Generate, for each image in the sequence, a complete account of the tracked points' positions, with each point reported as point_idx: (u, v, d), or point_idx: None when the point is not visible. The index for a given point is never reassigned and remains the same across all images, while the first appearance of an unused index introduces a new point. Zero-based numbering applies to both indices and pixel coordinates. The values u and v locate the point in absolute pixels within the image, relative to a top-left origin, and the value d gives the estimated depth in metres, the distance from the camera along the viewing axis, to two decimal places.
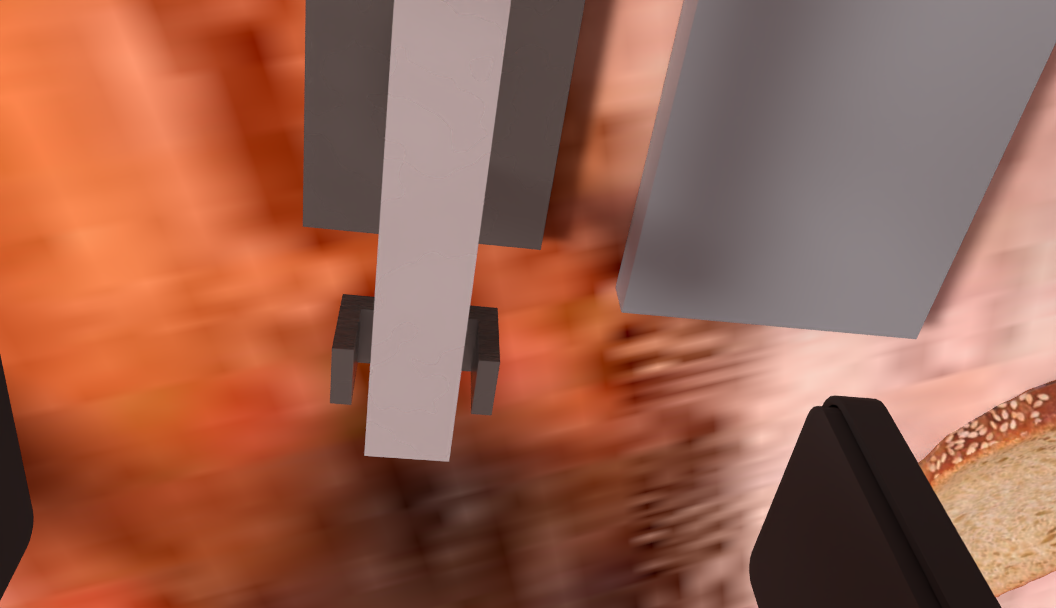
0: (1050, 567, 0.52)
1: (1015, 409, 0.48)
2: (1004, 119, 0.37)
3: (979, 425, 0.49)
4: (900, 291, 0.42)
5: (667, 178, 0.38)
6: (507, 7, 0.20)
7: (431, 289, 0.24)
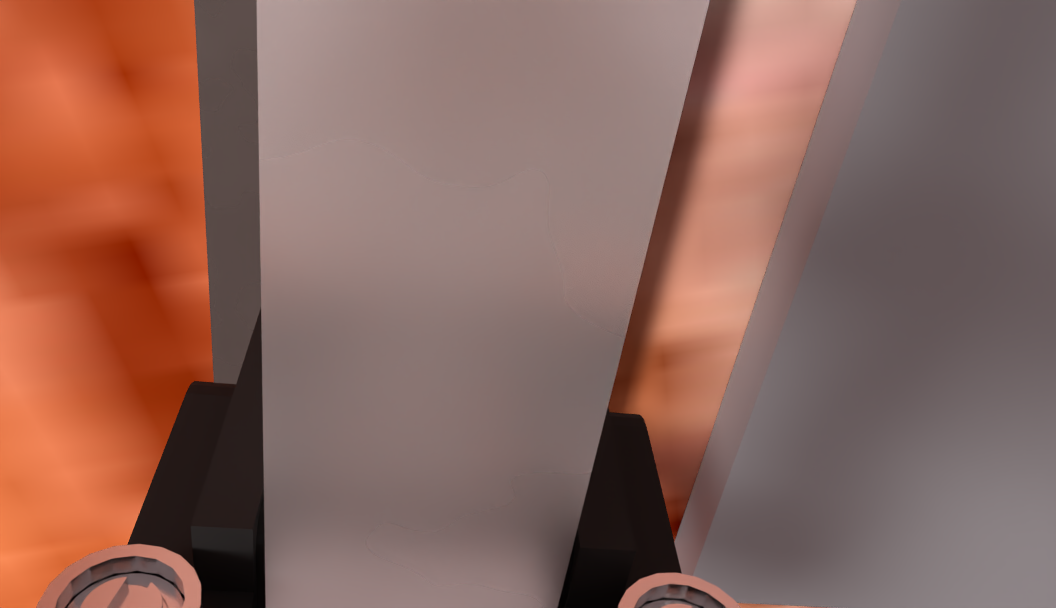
0: None
1: None
2: None
3: None
4: None
5: (760, 440, 0.25)
6: (561, 568, 0.08)
7: None
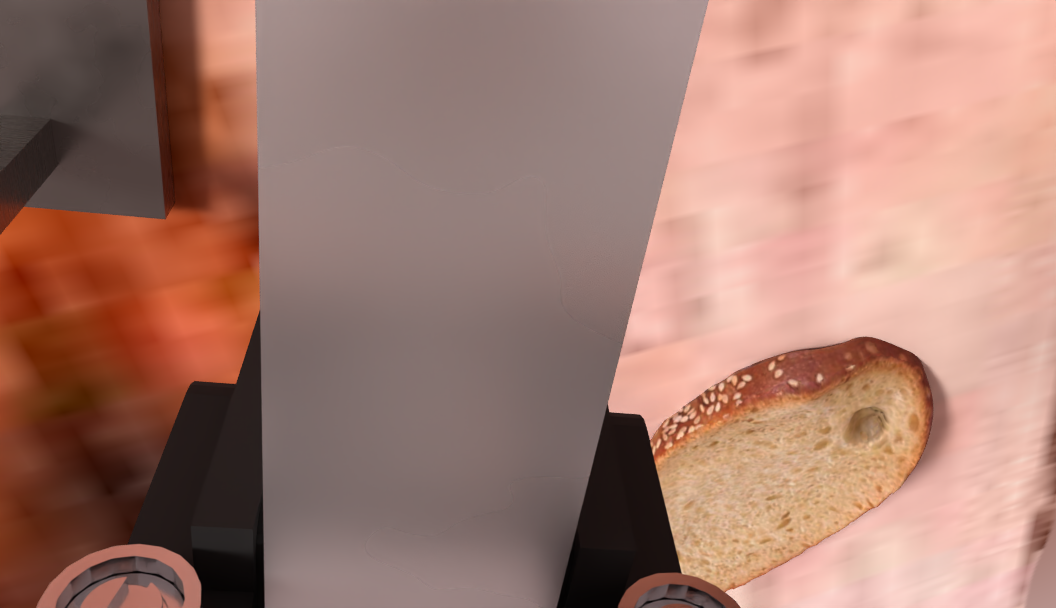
0: (789, 553, 0.51)
1: (722, 391, 0.47)
2: None
3: (690, 408, 0.48)
4: None
5: None
6: (559, 572, 0.08)
7: None
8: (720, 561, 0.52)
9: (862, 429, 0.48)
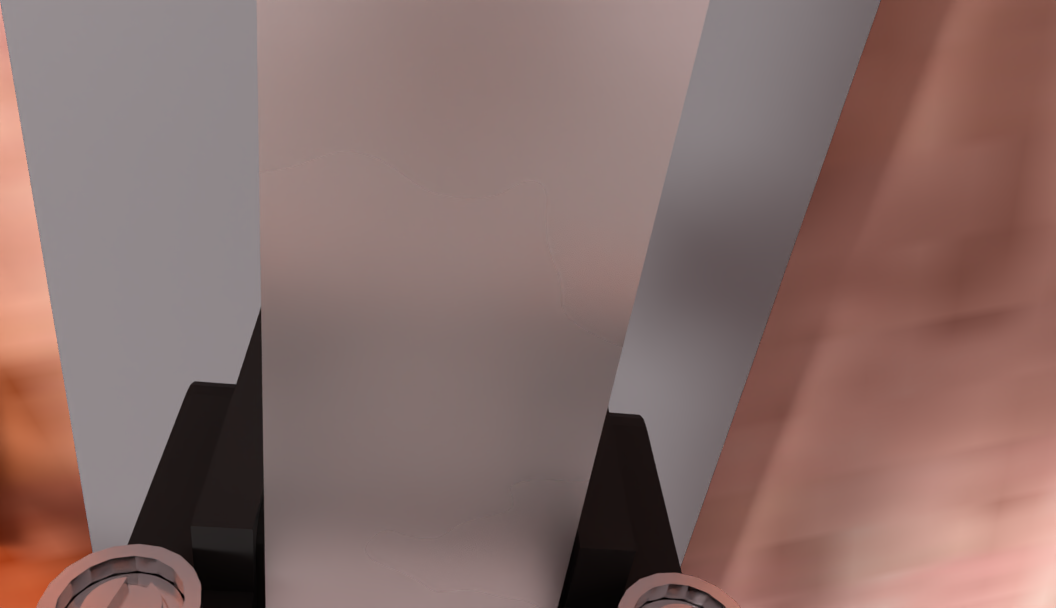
0: None
1: None
2: (715, 386, 0.20)
3: None
4: None
5: (106, 486, 0.20)
6: (559, 575, 0.08)
7: None
8: None
9: None
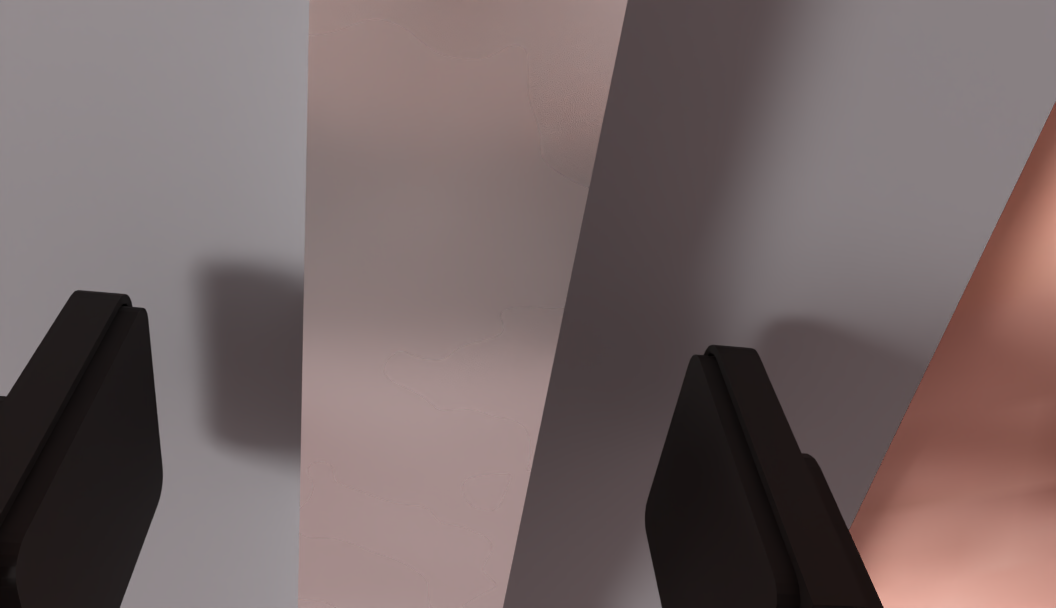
0: None
1: None
2: None
3: None
4: None
5: None
6: (541, 395, 0.10)
7: None
8: None
9: None
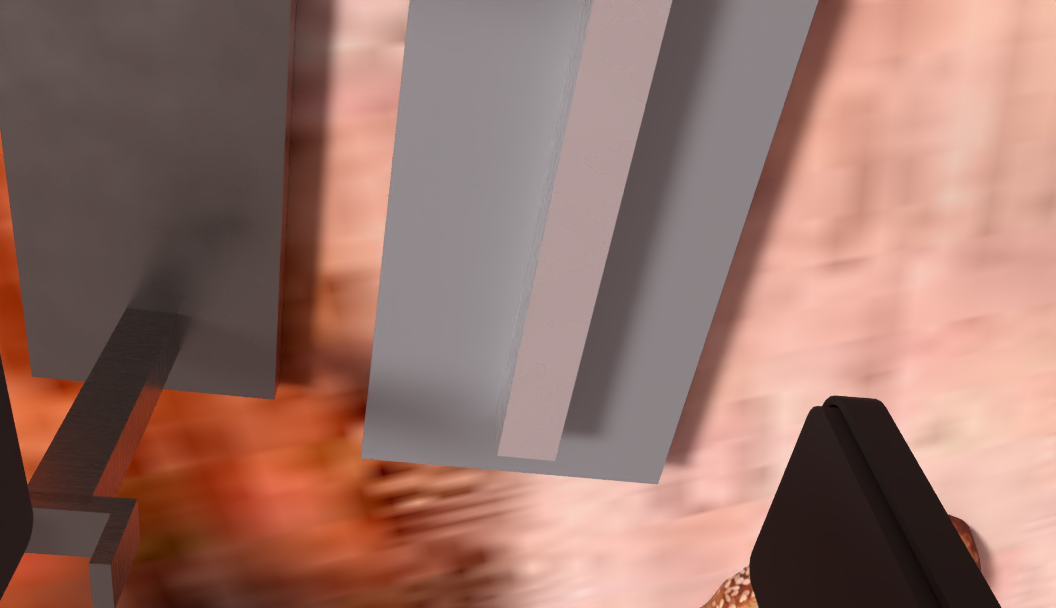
0: None
1: None
2: (707, 289, 0.39)
3: None
4: (633, 441, 0.43)
5: (386, 338, 0.39)
6: (627, 170, 0.33)
7: (558, 342, 0.36)
8: None
9: None
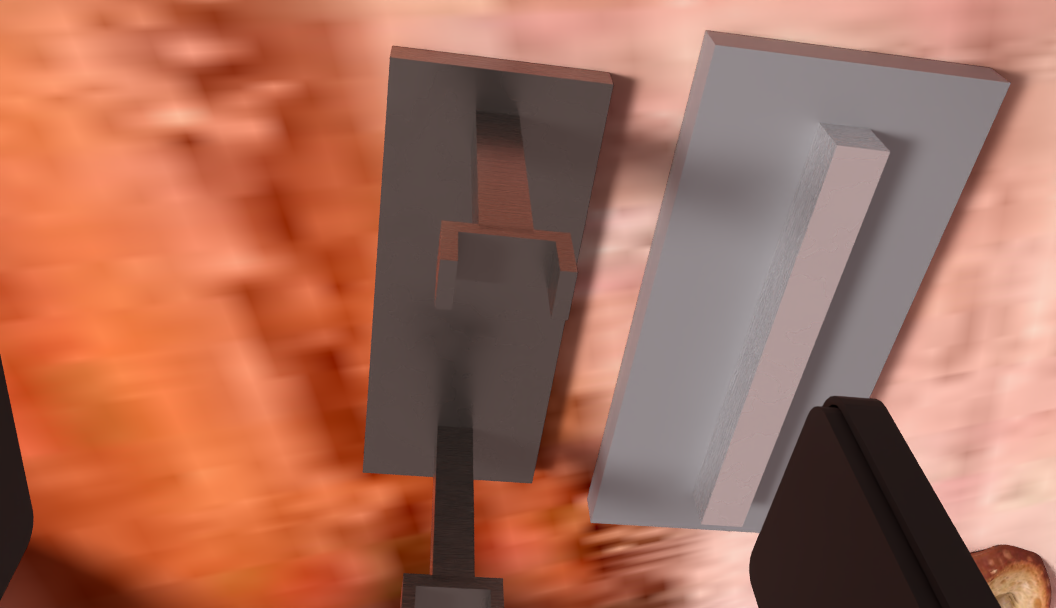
0: None
1: None
2: None
3: None
4: None
5: (621, 441, 0.53)
6: (815, 340, 0.47)
7: (754, 448, 0.51)
8: None
9: None
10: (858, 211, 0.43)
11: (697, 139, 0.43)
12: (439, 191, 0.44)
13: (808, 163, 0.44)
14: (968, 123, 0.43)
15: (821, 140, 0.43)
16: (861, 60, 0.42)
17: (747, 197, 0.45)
